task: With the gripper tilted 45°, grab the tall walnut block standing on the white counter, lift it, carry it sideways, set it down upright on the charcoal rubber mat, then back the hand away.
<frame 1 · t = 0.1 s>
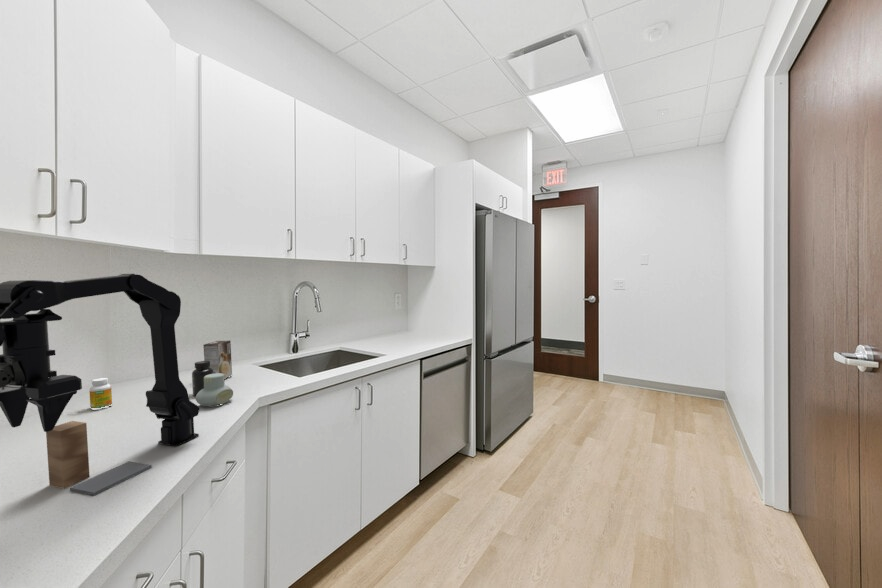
hand: (32, 428, 69), 15 cm above the counter, tool pointing down, fingers open, 9 cm apart
air freshener: (215, 404, 125), on the counter
supplement bottle 2: (101, 408, 122), on the counter
supplement bottle: (203, 394, 136), on the counter
walnut block: (69, 481, 77), on the counter
rubber mat: (113, 478, 78), on the counter
coffee box: (219, 379, 155), on the counter
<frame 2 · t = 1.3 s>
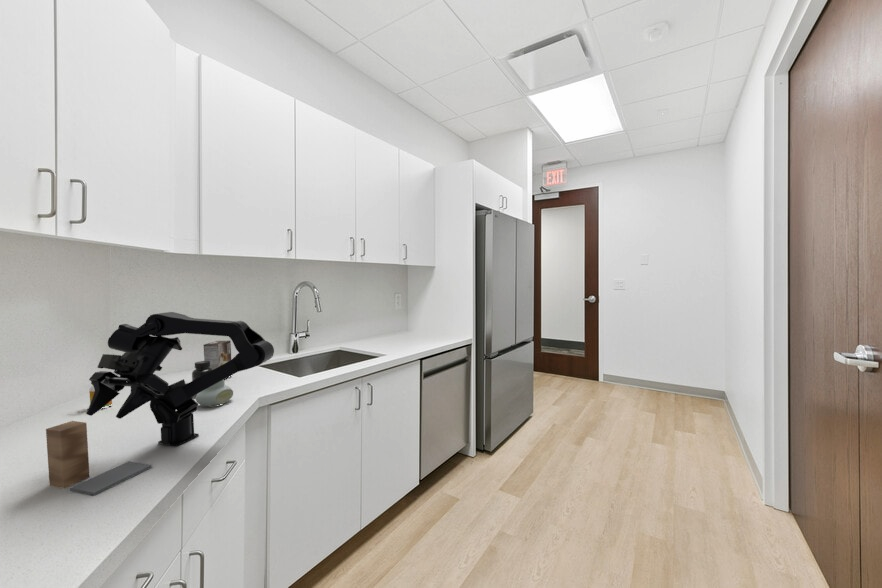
hand: (103, 416, 83), 12 cm above the counter, tool tilted 45°, fingers open, 9 cm apart
nothing on the counter moved.
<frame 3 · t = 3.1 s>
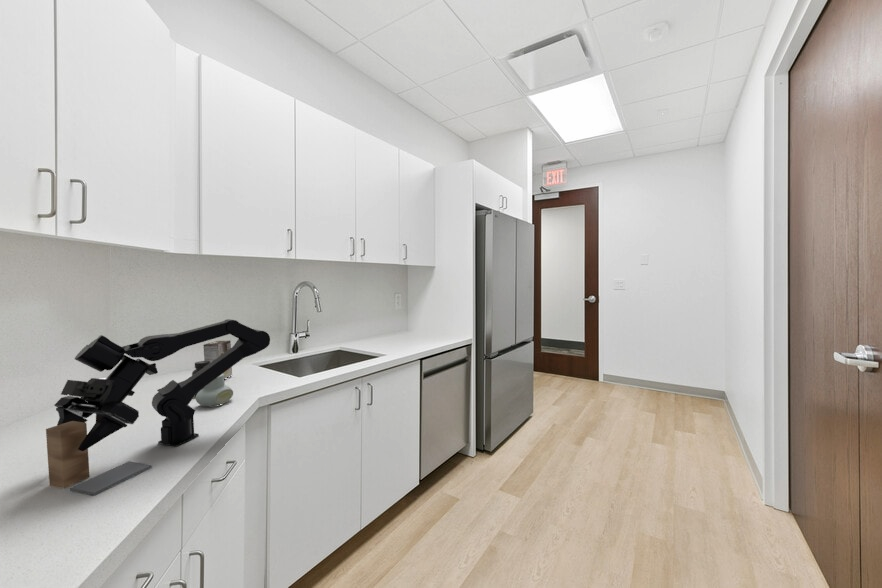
hand: (65, 447, 77), 7 cm above the counter, tool tilted 45°, fingers open, 9 cm apart
nothing on the counter moved.
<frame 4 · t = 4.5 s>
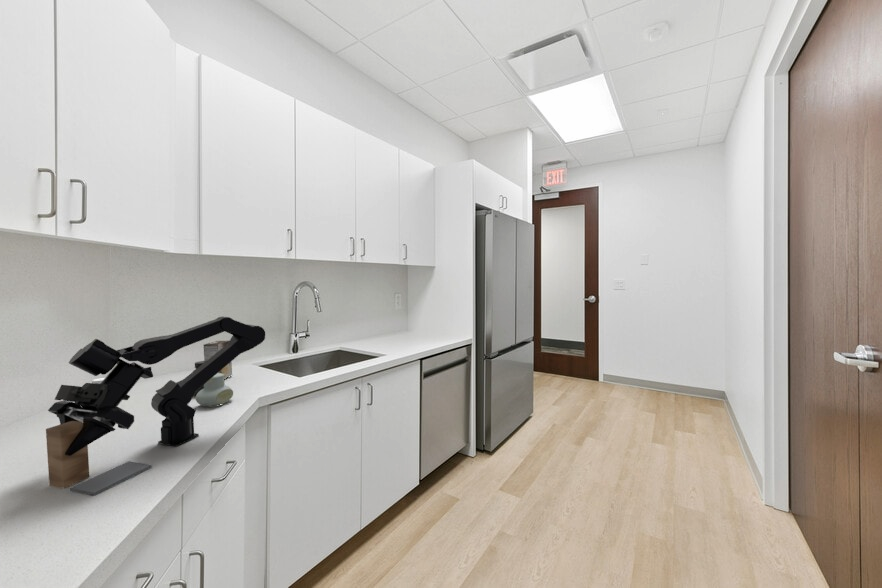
hand: (59, 453, 76), 7 cm above the counter, tool tilted 45°, fingers closed on walnut block, 4 cm apart
walnut block: (69, 481, 77), on the counter, touching gripper
everything else where it was.
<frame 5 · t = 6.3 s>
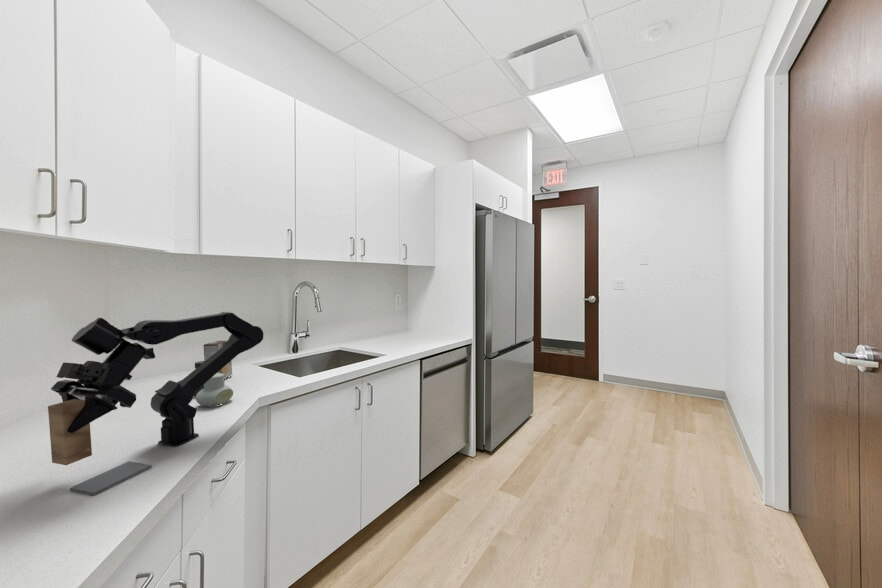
hand: (61, 431, 75), 11 cm above the counter, tool tilted 45°, fingers closed on walnut block, 4 cm apart
walnut block: (72, 458, 77), point 5 cm above the counter, touching gripper
everything else where it was.
when the fingers open (9 cm above the counter, at t = 8.3 s): walnut block drops 1 cm, resting on rubber mat.
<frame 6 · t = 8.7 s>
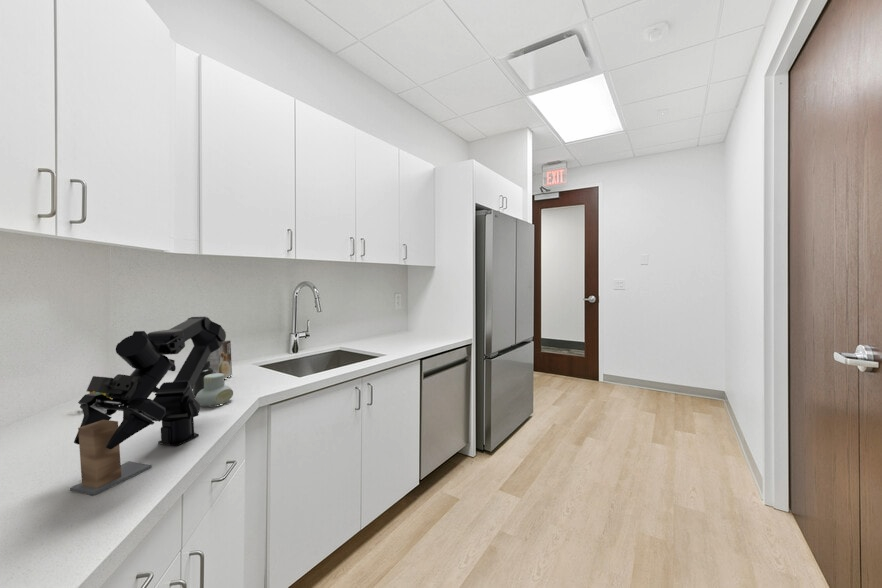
hand: (92, 446, 74), 9 cm above the counter, tool tilted 45°, fingers open, 9 cm apart
walnut block: (102, 480, 76), point 1 cm above the counter, touching rubber mat
everything else where it was.
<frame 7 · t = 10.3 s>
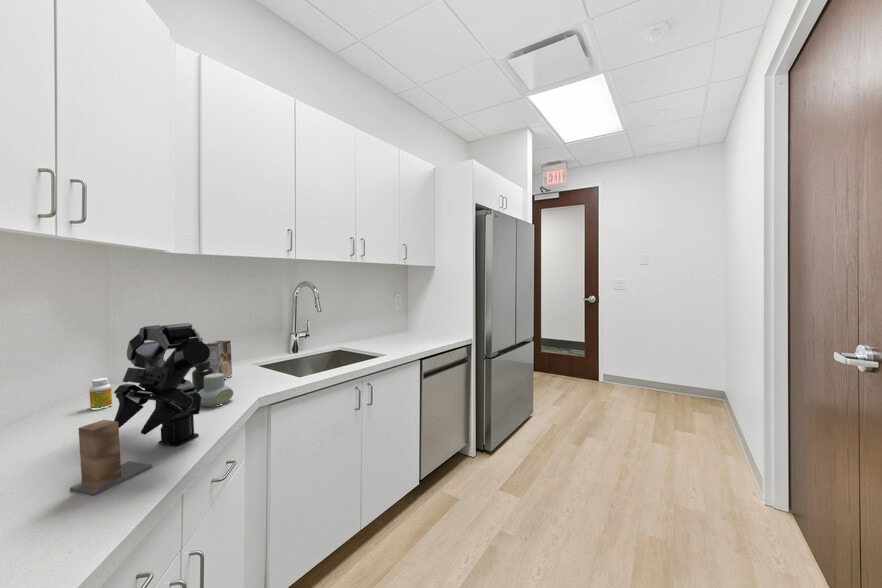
hand: (127, 431, 81), 9 cm above the counter, tool tilted 45°, fingers open, 9 cm apart
nothing on the counter moved.
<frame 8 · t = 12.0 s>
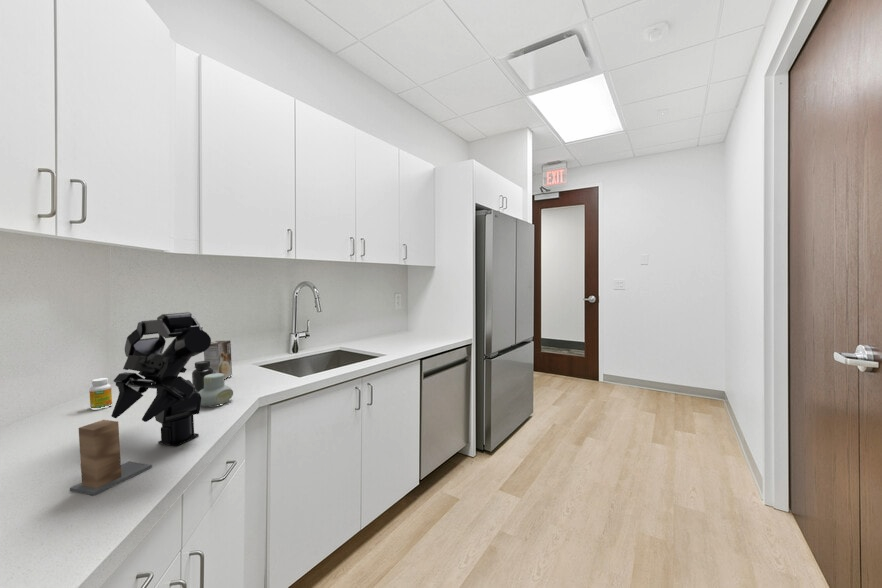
hand: (128, 419, 81), 12 cm above the counter, tool tilted 45°, fingers open, 9 cm apart
nothing on the counter moved.
at the end: walnut block inside the target area on the rubber mat (2.0 cm from its centre), point 0.6 cm above the rubber mat's base; walnut block tilted 0°; the gripper is holding nothing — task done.
